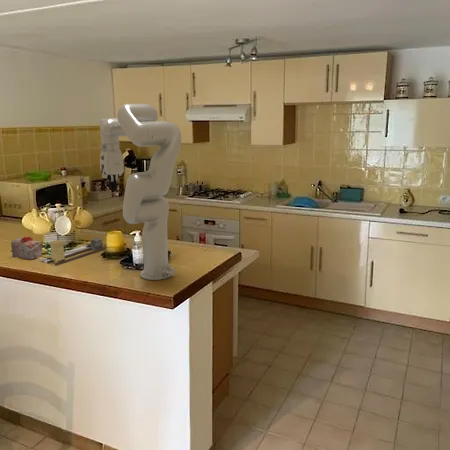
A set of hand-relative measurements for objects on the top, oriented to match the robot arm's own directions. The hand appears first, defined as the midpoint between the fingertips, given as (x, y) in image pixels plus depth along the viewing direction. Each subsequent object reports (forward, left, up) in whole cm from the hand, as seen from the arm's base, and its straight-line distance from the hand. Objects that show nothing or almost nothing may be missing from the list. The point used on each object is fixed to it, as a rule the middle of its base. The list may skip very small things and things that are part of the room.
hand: (113, 189), depth 203 cm
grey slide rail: (+12, +15, -29) cm, 35 cm away
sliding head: (+11, +25, -28) cm, 39 cm away
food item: (+28, +27, -29) cm, 48 cm away
